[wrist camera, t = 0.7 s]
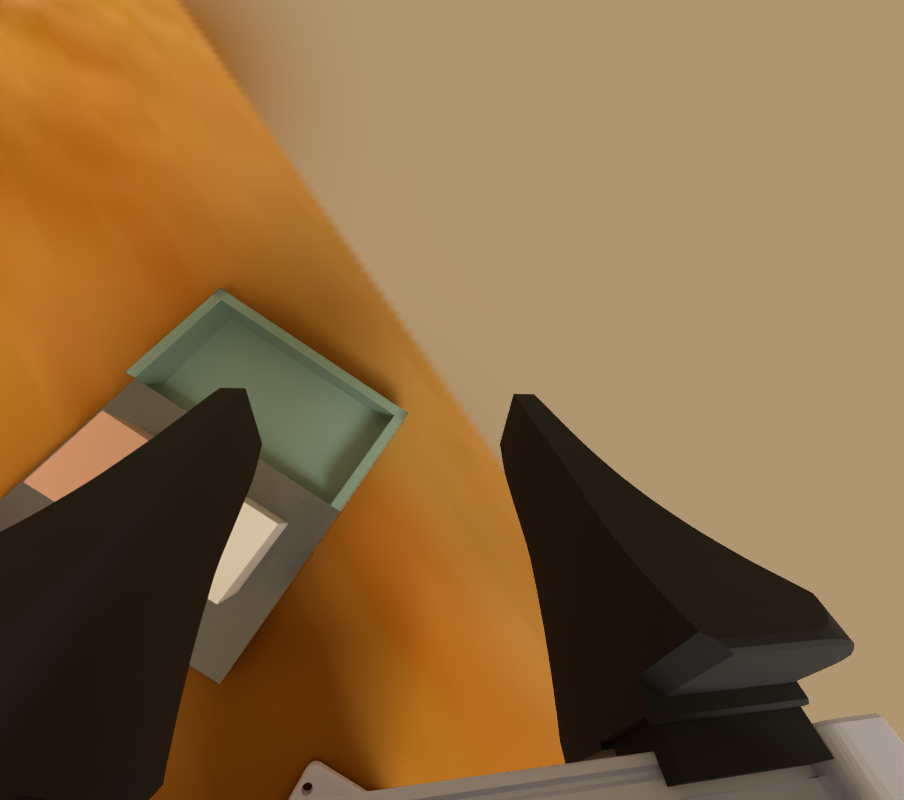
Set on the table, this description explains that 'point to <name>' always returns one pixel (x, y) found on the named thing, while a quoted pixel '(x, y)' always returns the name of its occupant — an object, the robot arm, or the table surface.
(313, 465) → the box
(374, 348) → the table surface
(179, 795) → the table surface
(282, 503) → the plate
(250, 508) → the tile cream
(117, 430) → the terracotta block
